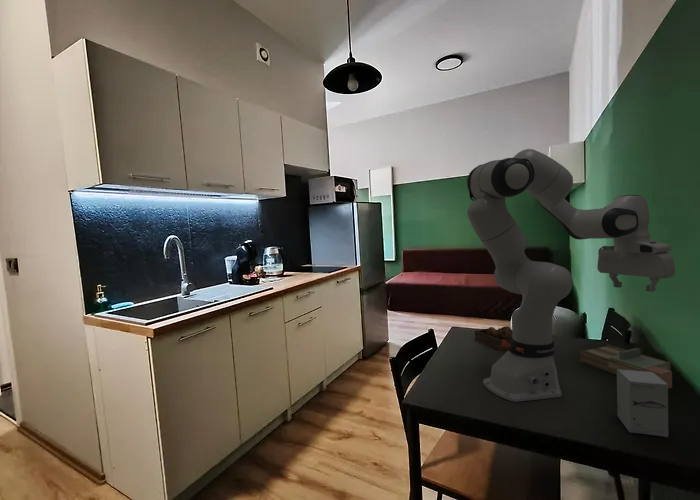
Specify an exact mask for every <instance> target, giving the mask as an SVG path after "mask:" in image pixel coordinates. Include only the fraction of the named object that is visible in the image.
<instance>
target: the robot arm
mask: <svg viewBox="0 0 700 500" xmlns="http://www.w3.org/2000/svg"><path fill="white" fill-rule="evenodd" d="M573 185H574V178H573V175H572V173H571V172H570V171H569V170H568V169H567V168H566V167H565V166H563V164H561V163H559V162H558V161H557V160H555V159H553V158H551V156H548V155H547V154H544V153H542V152H541V151H538V150H536V149H532V148H527V149H523V150H520V151H518V152H517V154H515V155H514V156H513V157H506V158H503V159H495V160H490V161H488V162H485V163H482V164H479V165H477V166H476V167H474V168H473V169H471V171H469V174H468V175H467V179H466V186H467V190H468V192H469V193H468V194H469V198H470V200H471V201H472V202H471V203H470V204H469V206H468V208H467V211H466V214H467V216H468V217H467V218H468V220H469V222H470V225H471V227H472V228H473V230H474V232H475V234H476V236H477V237H478V238H479V240H480V242H481V243H482V245H483V246H484V248H486V250H487V252H488V253H489V255H490V257H491V259H492V260H493V263H494V266H495V269H494V271H493V278H494V281H495V283H496V285H497V286H498V287H500V288H502V289H503V290H506V291H507V292H509V293H513V294H517V295H522V298H521V299H522V300H521V303H520V307H519V308H516V309H515V310H514V311H513V312H512V313H511V330H512V336H511V337H512V338H511V340H510V343H509V342H507V341H505V340H503V341H502V342H501V344H502V346H503V347H506V348H508V350H507V351H506V352H505V353H504V354H502V356H501V357H499V358H498V360H496V361H495V362H494V363H493V365H492V366H491V370H490V377H486V378H483V380H482V384H483V386H484V387H485V388H486V389H487V390H488V391H490V392H491V393H493V394H494V395H496V396H498V397H500V398H503V399H505V400H507V401H511V402H515V403H518V402H519V403H520V402H525V401H537V400H545V399H554V398H560V397H562V396H563V395H562V390H561V385H560V382H559V377H558V371H557V365H556V362H555V358H554V355H555V354H556V353H555V352H556V351H555V349H556V347H555V341H554V340H553V319H554V312H555V309H556V307H557V305H558V304H559V303H560V302H561V300H563V299H565V298H566V297H567V296H569V294H570V292H571V291H572V289H573V283H574V281H573V277H572V274H571V272H570V271H569V270H568V269H567V268H565V267H564V266H561V265H558V264H556V263H552V262H548V261H537V260H536V261H535V260H531V259H530V258H529V257H528V256H527V254H526V253H525V250H526V249H527V247H528V246H527V245H528V238H527V237H526V235H525V234H524V232H523V230H522V229H521V228H520V226H519V225H518V224H517V222H516V220H515V219H514V217H513V215H511V213H510V212H509V211H508V207H507V203H506V198H512V197H515V196H518V195H519V194H522V193H523V192H525V191H526V192H527V193H528V194H530V195H532V196H533V197H534V198H535V199H536V201H537V203H538V204H539V205H540V206H541V207H542V208H543V209H544V210H545V211H546V212H548V213H549V214H550V216H552V218H554V219H555V220H557V221H558V222H559V223H560V224H561V225H562V227H563V228H564V230H565V232H566V233H567V235H569V236H570V237H571V238H573V239H575V240H587V239H589V240H590V239H591V240H592V239H593V240H594V239H596V240H597V239H600V240H601V239H613V245H602V246H601V247H599V249H598V253H597V255H598V258H597V265H596V266H597V271H598V272H599V273H600V274H608V276H609V278H610V280H611V281H612V282H613V287H614V288H618V289H619V288H622V287H623V285H622V284H623V282H622V281H620V280H619V279H618V277H619V275H624V276H634V277H635V276H636V277H646V278H649V281H650V283H649V284H648V285H645V291H646V292H650V293H651V292H652V293H653V292H655V291H656V286H657V284H658V283H659V281H660V280H661V279H669V278H672V277H674V276H675V274H676V266H675V261H674V256H673V255H672V254H671V253H670V252H671V249H672V246H671V244H669V243H668V244H667V243H664V242H660V241H658V240H653V239H651V234H650V232H649V225H650V213H649V212H650V211H649V206H648V202H647V200H646V198H645V197H644V196H642V195H638V194H624V195H618V196H615V197H614V199H613V201H612V202H611V203H609V204H608V205H606V206H604V207H602V208H592V209H580V208H576V207H574V205H573V204H571V203H570V202H568V201H567V200H566V197H567V196H568V195H569V193H570V192H571V190H572V188H573Z"/></svg>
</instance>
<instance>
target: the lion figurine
mask: <svg viewBox="0 0 700 500" xmlns="http://www.w3.org/2000/svg"><path fill="white" fill-rule="evenodd" d="M487 335H489V336H492V337H494V338H497V339H499V340H502V339H508V338H511V337H512V328H511V327H510V326H508V325H506V326H502V327H500V328H497V329H496V328H495V327H493V326H489V327H488V333H487Z"/></svg>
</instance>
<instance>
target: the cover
mask: <svg viewBox="0 0 700 500" xmlns="http://www.w3.org/2000/svg"><path fill="white" fill-rule="evenodd" d="M641 354H642V349H641V348H639V347H635V348H631V349H625V351H620V352H619V355H616V356H611V357H610V359H611V360H614V361H617V362H620V363H623V364H626V365H629V366H632V367H635V368H638V369H641V370H643V371H644V368H646V367H650V366H657V367H660V366H665V365H666V362H667V361H666V362H662V361H659V360H660V359H659V360H656V359H657V358H656V359H652V358H649V357H650V356H649V357H646V356H647V355H646V356H642V355H643V354H642V355H641Z"/></svg>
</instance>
